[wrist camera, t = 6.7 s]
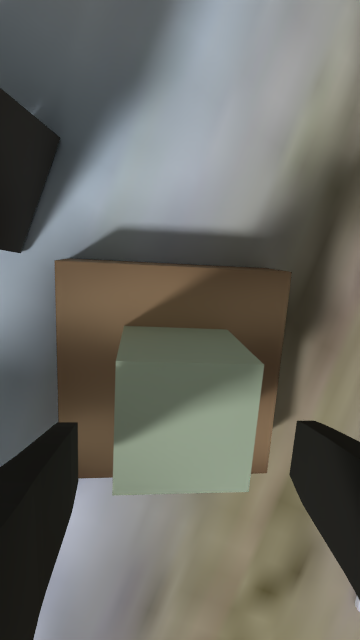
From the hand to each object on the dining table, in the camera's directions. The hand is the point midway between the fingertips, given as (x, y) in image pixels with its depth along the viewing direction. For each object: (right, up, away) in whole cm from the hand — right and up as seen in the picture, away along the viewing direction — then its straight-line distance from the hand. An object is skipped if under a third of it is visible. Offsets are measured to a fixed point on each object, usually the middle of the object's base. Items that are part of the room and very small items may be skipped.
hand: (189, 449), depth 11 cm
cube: (-1, +1, +6) cm, 6 cm away
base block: (-1, +2, +9) cm, 9 cm away
